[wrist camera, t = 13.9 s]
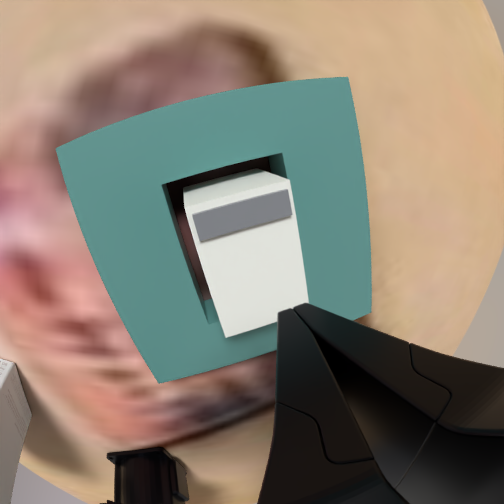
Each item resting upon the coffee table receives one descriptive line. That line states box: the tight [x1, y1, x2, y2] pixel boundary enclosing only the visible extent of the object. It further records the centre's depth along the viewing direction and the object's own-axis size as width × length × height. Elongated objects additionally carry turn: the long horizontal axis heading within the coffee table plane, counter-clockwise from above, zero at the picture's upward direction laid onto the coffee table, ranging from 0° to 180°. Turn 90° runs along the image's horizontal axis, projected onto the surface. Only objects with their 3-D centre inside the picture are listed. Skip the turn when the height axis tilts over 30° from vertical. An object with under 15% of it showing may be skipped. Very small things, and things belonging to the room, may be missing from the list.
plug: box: [183, 168, 309, 338], centre depth 14 cm, size 4×6×5 cm, turn 12°
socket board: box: [56, 77, 372, 383], centre depth 15 cm, size 14×14×2 cm
